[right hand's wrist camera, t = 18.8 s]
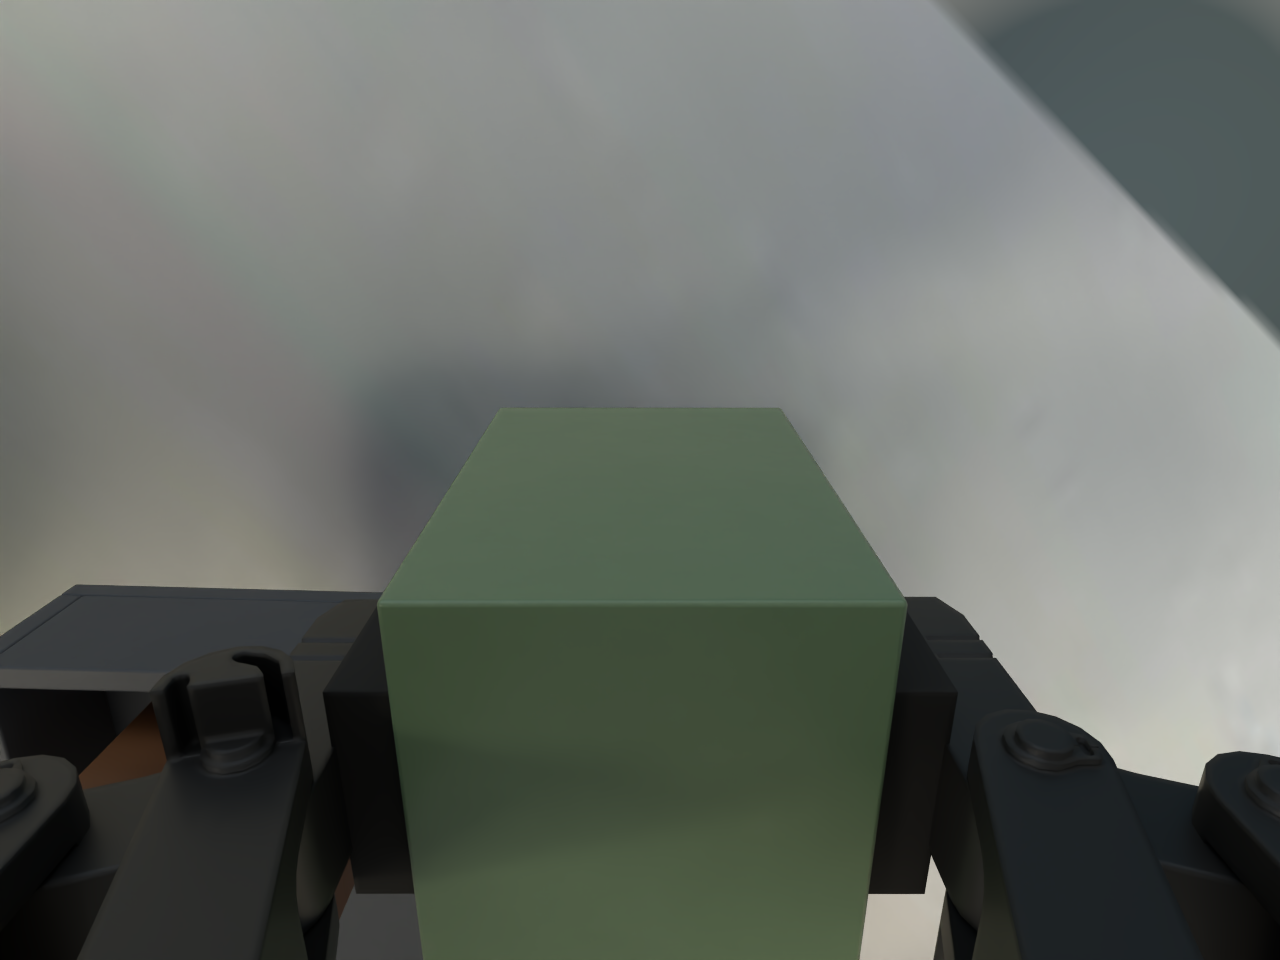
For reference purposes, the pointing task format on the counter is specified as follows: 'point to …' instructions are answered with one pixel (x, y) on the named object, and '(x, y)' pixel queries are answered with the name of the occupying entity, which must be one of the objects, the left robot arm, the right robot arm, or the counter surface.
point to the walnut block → (157, 771)
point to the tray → (130, 667)
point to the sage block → (641, 693)
